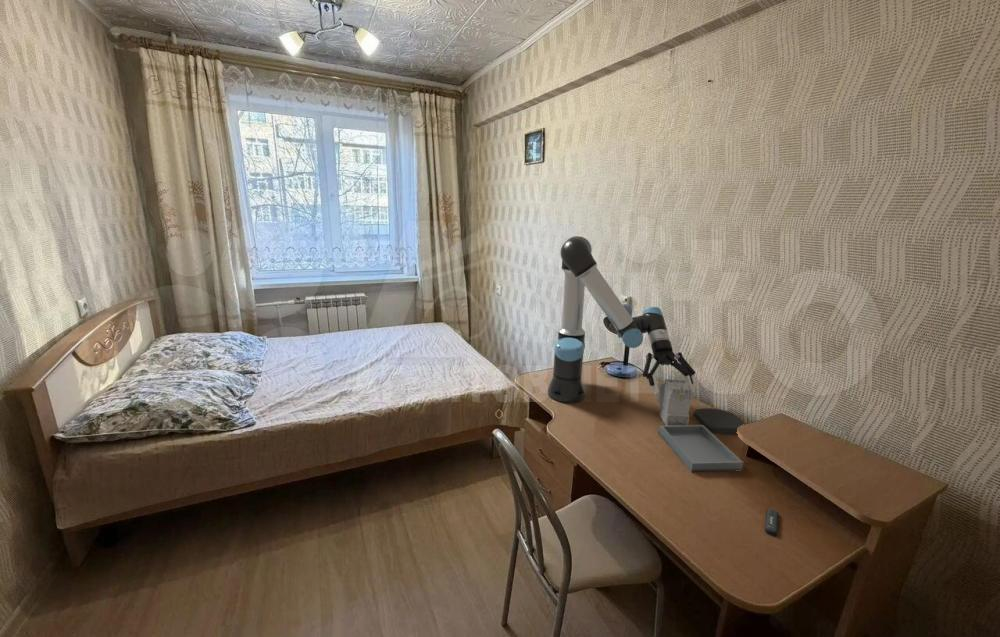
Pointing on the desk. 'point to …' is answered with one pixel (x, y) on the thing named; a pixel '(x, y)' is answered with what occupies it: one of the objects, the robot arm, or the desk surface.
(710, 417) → the media streaming box
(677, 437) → the tray
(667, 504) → the desk surface
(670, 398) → the circuit breaker
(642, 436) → the desk surface
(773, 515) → the usb stick
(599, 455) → the desk surface
